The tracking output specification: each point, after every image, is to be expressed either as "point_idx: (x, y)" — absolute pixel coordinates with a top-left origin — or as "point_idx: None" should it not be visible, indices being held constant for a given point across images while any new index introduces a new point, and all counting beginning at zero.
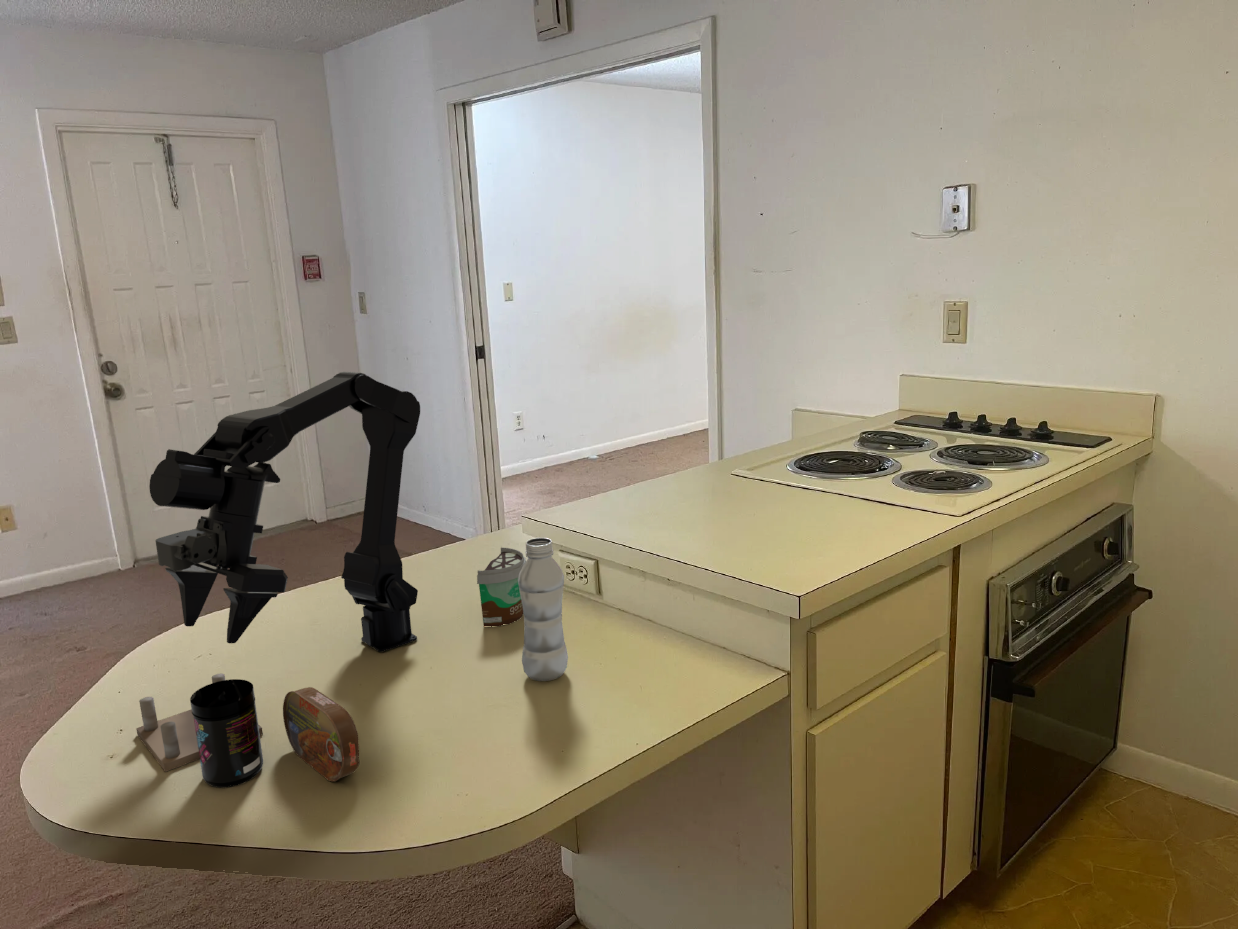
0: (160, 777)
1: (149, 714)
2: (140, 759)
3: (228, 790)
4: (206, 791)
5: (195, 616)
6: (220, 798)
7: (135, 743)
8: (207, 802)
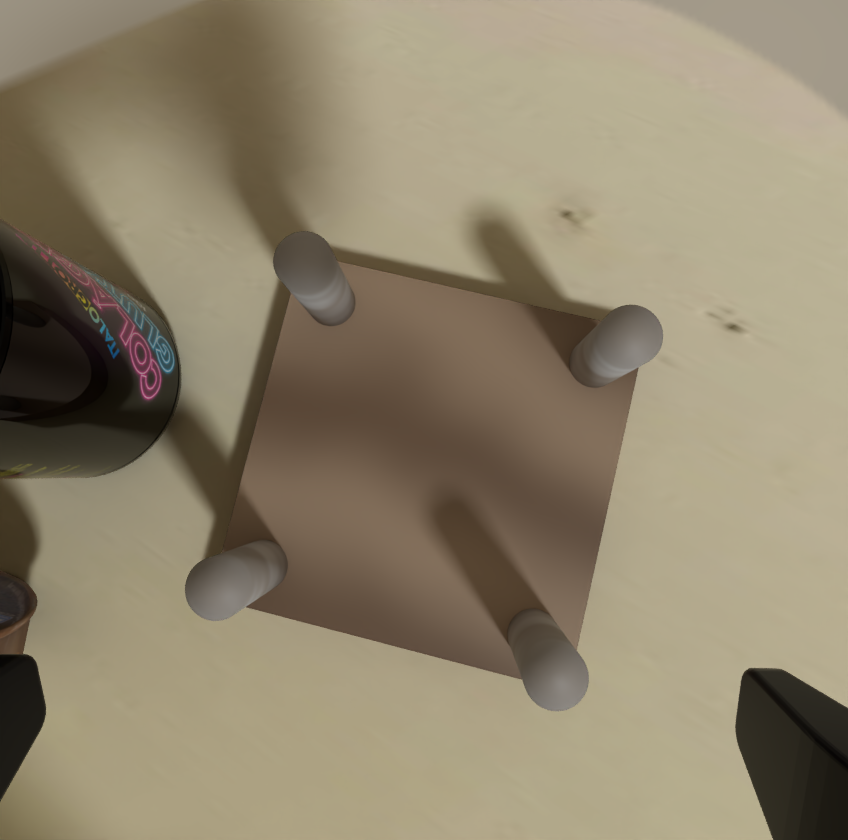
0: None
1: (587, 339)
2: (462, 260)
3: None
4: None
5: (784, 827)
6: None
7: (586, 305)
8: None
